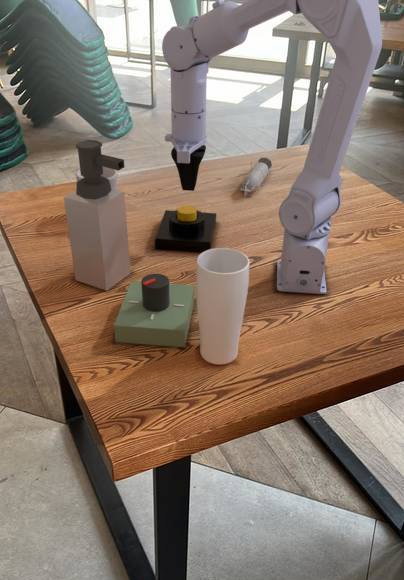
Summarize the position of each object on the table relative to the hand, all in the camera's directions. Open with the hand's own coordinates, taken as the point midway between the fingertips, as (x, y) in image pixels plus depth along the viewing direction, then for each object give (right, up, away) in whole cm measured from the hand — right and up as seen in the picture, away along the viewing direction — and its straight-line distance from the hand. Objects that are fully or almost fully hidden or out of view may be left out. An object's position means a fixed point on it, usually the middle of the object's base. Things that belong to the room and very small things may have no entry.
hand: (188, 189), depth 102 cm
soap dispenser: (-13, -17, -7) cm, 23 cm away
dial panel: (-4, -25, -16) cm, 30 cm away
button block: (0, -7, +6) cm, 9 cm away
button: (0, -4, +3) cm, 6 cm away
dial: (-4, -22, -18) cm, 29 cm away
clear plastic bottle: (+14, +9, +26) cm, 31 cm away
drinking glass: (+5, -30, -22) cm, 37 cm away
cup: (-18, -2, +12) cm, 22 cm away
